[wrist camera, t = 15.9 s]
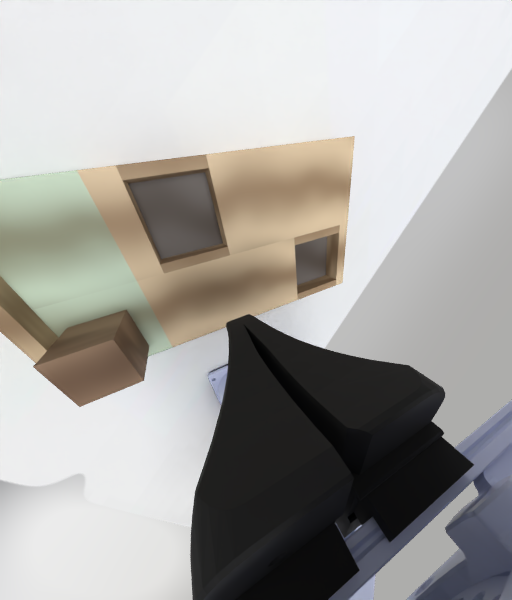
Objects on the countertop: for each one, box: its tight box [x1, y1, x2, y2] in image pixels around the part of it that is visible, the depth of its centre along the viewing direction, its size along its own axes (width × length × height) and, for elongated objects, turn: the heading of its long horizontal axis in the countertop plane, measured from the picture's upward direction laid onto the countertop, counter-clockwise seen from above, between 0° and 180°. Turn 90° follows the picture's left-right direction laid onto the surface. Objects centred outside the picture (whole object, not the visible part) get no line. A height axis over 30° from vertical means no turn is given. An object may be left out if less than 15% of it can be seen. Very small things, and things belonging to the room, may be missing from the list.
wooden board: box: [0, 136, 355, 363], centre depth 16 cm, size 14×28×4 cm, turn 100°
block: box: [33, 310, 149, 407], centre depth 13 cm, size 4×4×4 cm
